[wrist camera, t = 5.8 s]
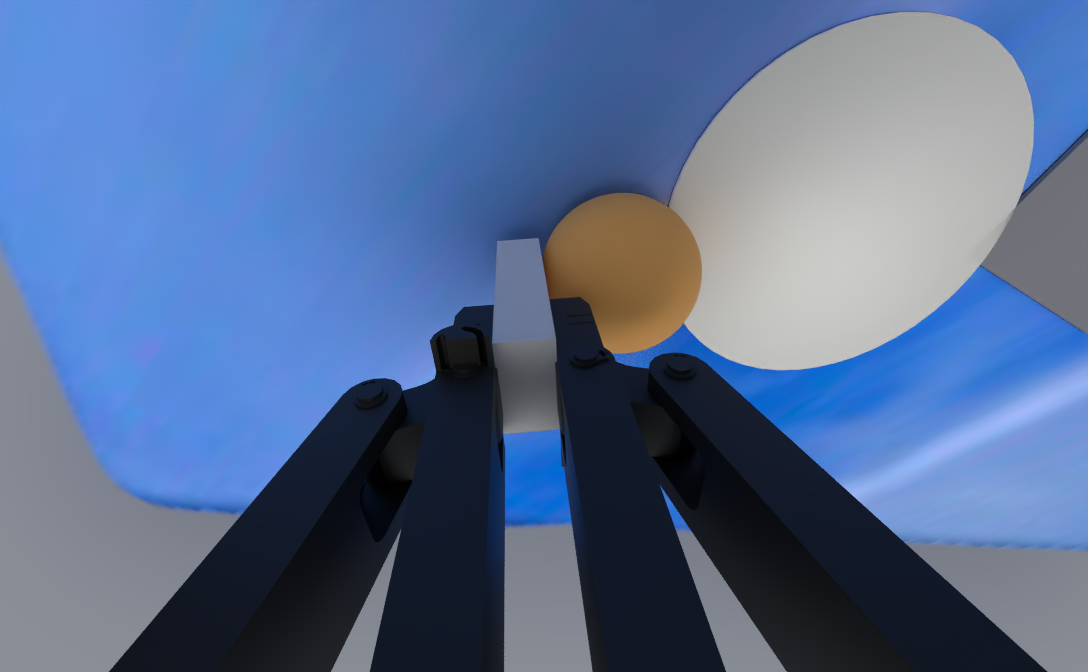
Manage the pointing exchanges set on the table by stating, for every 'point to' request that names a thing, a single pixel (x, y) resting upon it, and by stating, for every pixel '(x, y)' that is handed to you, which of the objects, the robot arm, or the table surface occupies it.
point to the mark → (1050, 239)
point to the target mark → (853, 188)
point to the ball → (626, 268)
